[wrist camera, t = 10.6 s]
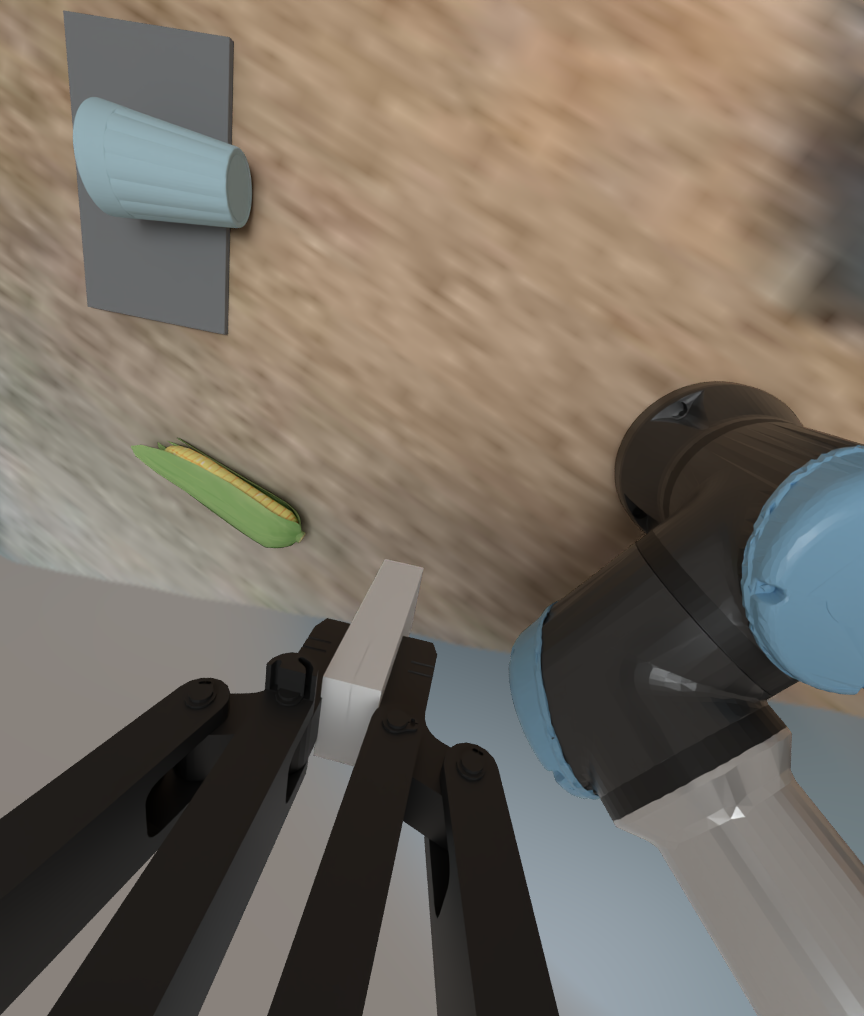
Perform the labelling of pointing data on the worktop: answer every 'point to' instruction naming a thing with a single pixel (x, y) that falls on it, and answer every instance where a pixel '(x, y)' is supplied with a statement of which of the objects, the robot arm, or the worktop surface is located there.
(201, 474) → the edible corn
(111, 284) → the mat
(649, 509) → the robot arm
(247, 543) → the worktop surface
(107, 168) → the cup
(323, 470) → the worktop surface
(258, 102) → the worktop surface
